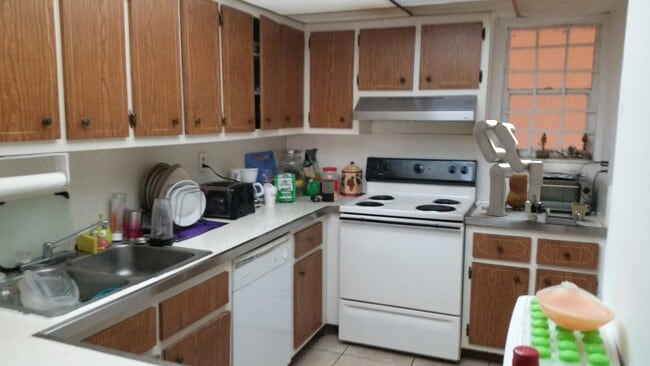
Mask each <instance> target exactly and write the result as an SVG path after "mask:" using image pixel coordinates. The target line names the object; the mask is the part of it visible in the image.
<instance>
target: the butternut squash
mask: <svg viewBox="0 0 650 366" xmlns="http://www.w3.org/2000/svg"><path fill="white" fill-rule="evenodd" d="M508 179H509V180H508V186H509V187H508V188H509V190H508V193H507V194H506V200H505V202H506V203H507V205H508V207H510V208H511V209H514V210H523V209H522V204H523V203H524V202H525V201H527V195H528V196H529V194H528V185H529V175H528V173H519V174H518V173H515V172H514V174H513V175H512V176H511V177H509V178H508Z"/></svg>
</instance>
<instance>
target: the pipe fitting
mask: <svg viewBox="0 0 650 366" xmlns="http://www.w3.org/2000/svg"><path fill="white" fill-rule="evenodd" d="M550 211H551V208H550V207H548V208H547V209H545V220H544V223H545V224H554V225H562V226H563V225H564V226H565V225H566V226H573V227H577V224H578V222H581V221H582V219H581V214H578V211H575V214H574V217H573V216H563V215H552V214H551V212H550Z"/></svg>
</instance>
